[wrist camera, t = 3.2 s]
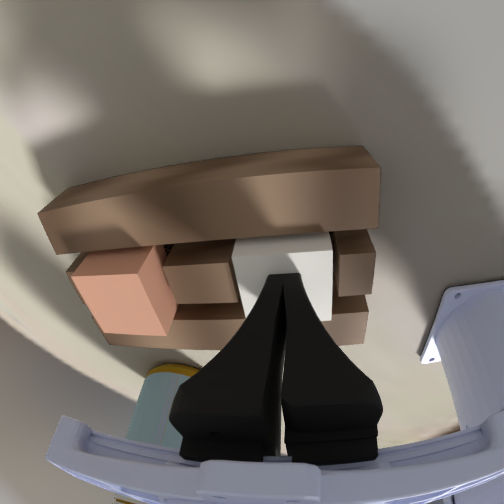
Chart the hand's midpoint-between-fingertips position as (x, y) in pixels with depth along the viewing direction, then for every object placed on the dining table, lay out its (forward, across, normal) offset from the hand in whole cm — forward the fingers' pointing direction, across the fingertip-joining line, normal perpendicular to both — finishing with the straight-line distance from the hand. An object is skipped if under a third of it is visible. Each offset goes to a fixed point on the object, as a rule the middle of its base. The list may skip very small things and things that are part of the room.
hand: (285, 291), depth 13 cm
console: (+4, +4, 0) cm, 5 cm away
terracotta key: (+2, +8, 0) cm, 8 cm away
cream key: (+3, 0, 0) cm, 3 cm away
